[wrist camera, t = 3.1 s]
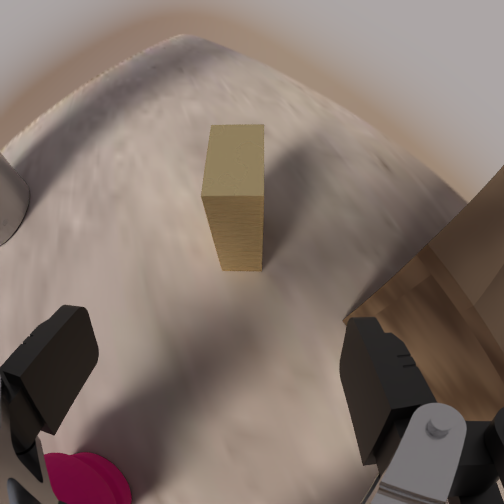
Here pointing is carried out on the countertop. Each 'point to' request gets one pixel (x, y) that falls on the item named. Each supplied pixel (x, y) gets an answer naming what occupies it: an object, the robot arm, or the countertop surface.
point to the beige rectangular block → (235, 194)
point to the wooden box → (454, 307)
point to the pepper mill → (86, 479)
